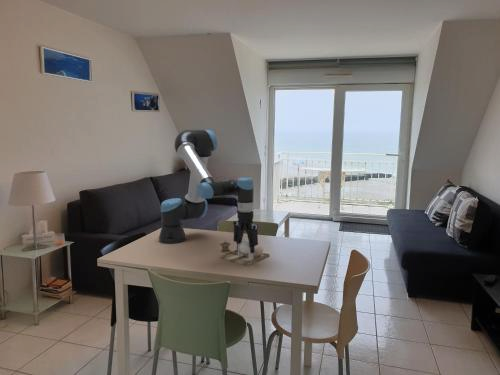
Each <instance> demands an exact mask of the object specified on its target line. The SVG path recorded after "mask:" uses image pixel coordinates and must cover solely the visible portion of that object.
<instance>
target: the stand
mask: <svg viewBox="0 0 500 375" xmlns="http://www.w3.org/2000/svg"><path fill="white" fill-rule="evenodd" d="M219 245H220V246H221V247H222V249H220V250H219V251H220V252H221V253H222V254H226V253H229V252H231V249H230V248H229V247H230V246H231V243H230V242H227V241H223V242H220V244H219Z"/></svg>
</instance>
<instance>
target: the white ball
mask: <svg viewBox="0 0 500 375" xmlns="http://www.w3.org/2000/svg"><path fill="white" fill-rule="evenodd" d="M249 246H250V244H249V241H247V240H245V241H242V243H241V244H240V246H239V249H240V251H241V252H242V253H243V254H248V247H249Z"/></svg>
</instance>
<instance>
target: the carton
mask: <svg viewBox="0 0 500 375" xmlns="http://www.w3.org/2000/svg"><path fill="white" fill-rule="evenodd" d="M219 258H220V259H221V260H225V261H229V262H233V263H236V264H239V265H242V266H246V267H248V266H250V265H253V264H254V263H257V262H259V261H262V260H264V259H267V258H270V254H269V253H266V252H263V253H262V255H261V256H259V257H254V256H253V259H251V260H248V254H243V256H241V257H238V250H237V249H235V250H232V251H231V250H230V252H227V253H222V254H220V255H219Z"/></svg>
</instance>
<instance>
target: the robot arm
mask: <svg viewBox="0 0 500 375" xmlns="http://www.w3.org/2000/svg"><path fill="white" fill-rule="evenodd" d="M217 148H218V140H217V136H216V134H215V133H214V131H212V129H211V130H210V129H186V130H182V131H180V132H179V133H178V135H176V138H175V139H174V150H175V152H176V154H177V155H178V157H180V158H181V159H182V160H183V161H184V164H185V166H186V167H187V169H189V172H190V175H189V182H188V183H189V184H188V190H187V194H185V195H184V199H183V200H182V199H181V198H178V197H176V198H168V199H166V200H163V201H162V202H161V205H160V213H161V215H160V216H161V218H160V220H161V229H160V232H159V235H158V241H159V243H163V244H176V243H183V242H184V241H186V239H187V237H186V235H187V234H186V233H185V230H184V227H183V222H184V221H188V220H189V221H191V220H198V219H202V218H204V217H205V216H206V214H207V213H208V210H209V209H208V207H209V206H208V201H207V199H213V198H214V199H216V198H223V197H231V196H233V197H237V210H238V211H237V219H238V220H235V221H233V223H232V224H233V242H235V243H236V250H238V257H241V256H243V253H242V252H241V251H240V249H239V246H240V244H241V242H243V237H244V233H246V235H247V239H248V242H249V244H250V246H249V247H248V260H251V259H253V253H254V246H256V245H259V239H258V238H259V237H258V228H259V225H258V224H256V223H255V224H254V221H253V220H254V211H253V210H254V209H255V208H254V179H253V178H251V177H238V178H237V180H236V179H232V178H228V179H226V180H220V181H219V180H218V181H215V179H214V178H213V176H212V175H211V173H210V170H208V169H207V168H208V162H209V161H208V160H209V158H210V157H211V156H212V153H213V152H215V151H216V150H217Z"/></svg>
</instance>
